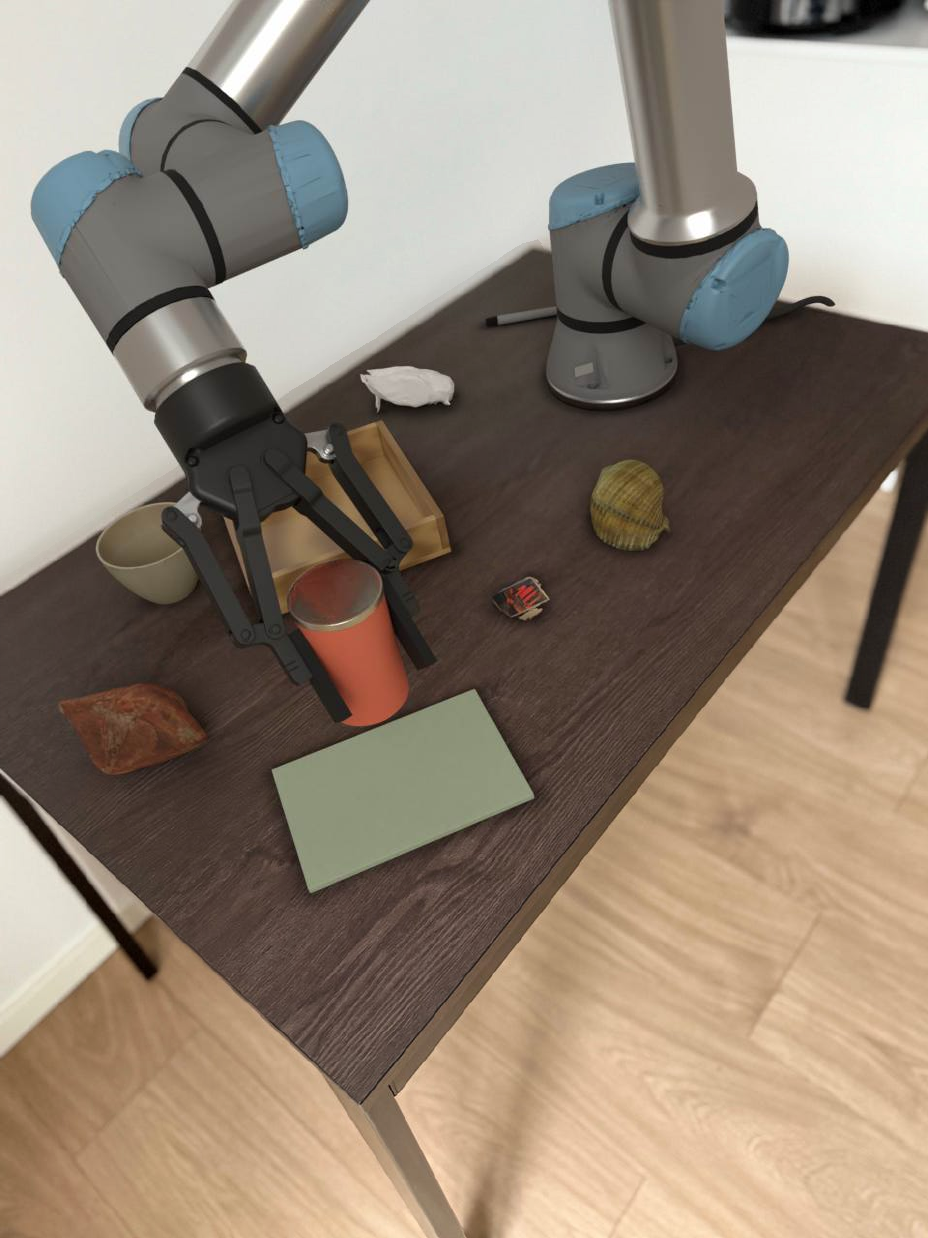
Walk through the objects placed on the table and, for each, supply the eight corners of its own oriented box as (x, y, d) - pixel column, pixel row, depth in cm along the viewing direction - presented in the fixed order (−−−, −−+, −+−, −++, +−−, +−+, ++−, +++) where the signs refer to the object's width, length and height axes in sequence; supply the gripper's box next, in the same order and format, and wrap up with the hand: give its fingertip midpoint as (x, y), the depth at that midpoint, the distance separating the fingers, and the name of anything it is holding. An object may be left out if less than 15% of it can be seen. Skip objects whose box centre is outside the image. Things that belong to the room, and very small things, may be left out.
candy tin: (394, 649, 70) (365, 547, 63) (422, 707, 66) (395, 603, 59) (314, 680, 69) (276, 579, 62) (337, 740, 65) (299, 639, 58)
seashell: (659, 569, 94) (705, 501, 91) (624, 567, 89) (673, 494, 85) (591, 513, 99) (633, 447, 96) (554, 508, 93) (597, 438, 90)
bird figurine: (380, 432, 114) (457, 404, 111) (356, 380, 110) (435, 350, 108) (386, 416, 118) (460, 389, 115) (362, 366, 114) (439, 337, 112)
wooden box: (390, 454, 108) (381, 419, 105) (451, 551, 94) (444, 515, 91) (223, 511, 105) (209, 478, 101) (262, 622, 91) (247, 587, 88)
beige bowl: (199, 624, 92) (172, 569, 87) (108, 620, 94) (77, 567, 89) (236, 556, 99) (213, 501, 94) (150, 553, 101) (123, 500, 96)
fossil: (231, 733, 77) (122, 676, 71) (174, 823, 76) (59, 773, 70) (189, 690, 87) (92, 638, 82) (138, 769, 86) (36, 722, 81)
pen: (486, 324, 126) (484, 315, 125) (609, 303, 125) (609, 294, 124) (486, 329, 125) (485, 320, 124) (611, 308, 124) (611, 299, 123)
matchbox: (486, 602, 88) (486, 599, 88) (527, 574, 90) (526, 570, 90) (521, 626, 85) (520, 623, 85) (562, 596, 87) (561, 593, 87)
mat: (475, 692, 81) (474, 688, 80) (534, 798, 72) (533, 794, 72) (273, 773, 78) (271, 769, 77) (310, 894, 69) (308, 889, 69)
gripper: (315, 353, 69) (480, 627, 70) (68, 470, 62) (254, 771, 63) (335, 306, 62) (518, 612, 63) (58, 432, 55) (268, 772, 56)
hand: (385, 691), depth 63 cm, fingers closed on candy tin, 6 cm apart
